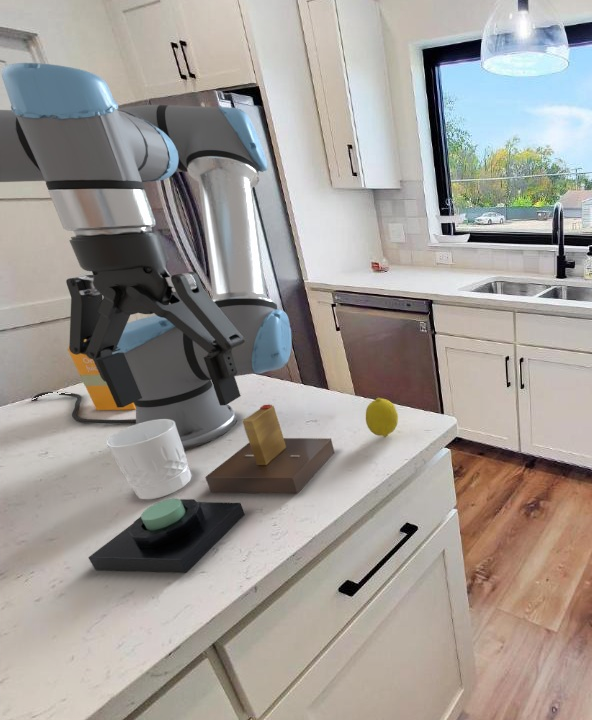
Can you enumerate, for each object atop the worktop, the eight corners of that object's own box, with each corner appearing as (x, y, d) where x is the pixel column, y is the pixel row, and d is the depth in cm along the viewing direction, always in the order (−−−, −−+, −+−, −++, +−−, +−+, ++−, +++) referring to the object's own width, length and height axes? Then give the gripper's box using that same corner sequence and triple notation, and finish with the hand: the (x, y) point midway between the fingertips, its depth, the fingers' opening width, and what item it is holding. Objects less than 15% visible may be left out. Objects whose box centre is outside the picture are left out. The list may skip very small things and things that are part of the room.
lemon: (391, 445, 75) (383, 406, 73) (363, 443, 77) (355, 404, 74) (406, 429, 80) (399, 392, 78) (380, 427, 82) (373, 390, 79)
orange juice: (134, 409, 92) (96, 322, 85) (95, 410, 92) (54, 324, 85) (164, 394, 99) (131, 312, 92) (128, 394, 100) (93, 313, 92)
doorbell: (95, 570, 51) (81, 546, 50) (167, 513, 61) (157, 490, 59) (186, 573, 51) (175, 548, 49) (245, 514, 60) (237, 492, 58)
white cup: (158, 472, 70) (135, 420, 66) (207, 469, 71) (187, 417, 67) (118, 504, 63) (89, 448, 59) (173, 500, 63) (148, 444, 60)
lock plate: (211, 492, 65) (204, 476, 63) (259, 452, 75) (254, 437, 74) (297, 494, 64) (292, 477, 63) (334, 452, 74) (330, 437, 73)
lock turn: (266, 465, 66) (251, 419, 63) (256, 465, 66) (241, 419, 63) (286, 447, 70) (273, 404, 67) (277, 447, 71) (264, 404, 67)
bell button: (137, 530, 53) (131, 519, 52) (165, 508, 56) (160, 498, 56) (167, 531, 52) (161, 520, 52) (193, 508, 56) (189, 498, 55)
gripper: (245, 225, 50) (290, 387, 57) (47, 233, 51) (116, 391, 58) (195, 229, 43) (253, 413, 50) (-34, 238, 44) (57, 417, 51)
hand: (180, 401), depth 54 cm, fingers open, 13 cm apart
